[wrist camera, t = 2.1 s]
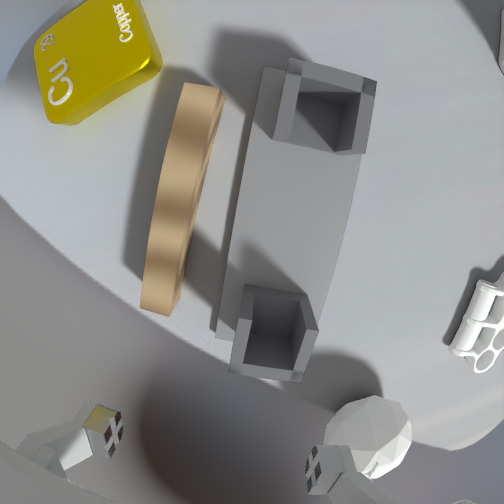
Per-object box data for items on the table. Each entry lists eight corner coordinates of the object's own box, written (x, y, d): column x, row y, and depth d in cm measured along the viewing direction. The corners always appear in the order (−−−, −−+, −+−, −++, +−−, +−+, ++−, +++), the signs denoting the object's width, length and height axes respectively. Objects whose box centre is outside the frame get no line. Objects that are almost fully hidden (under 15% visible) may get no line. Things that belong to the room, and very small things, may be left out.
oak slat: (195, 93, 29) (184, 82, 24) (225, 99, 29) (219, 88, 25) (154, 290, 36) (139, 308, 31) (180, 297, 36) (168, 316, 31)
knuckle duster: (481, 256, 33) (528, 272, 34) (435, 362, 38) (488, 362, 39) (494, 263, 30) (540, 279, 30) (444, 374, 35) (496, 372, 35)
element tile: (168, 71, 28) (154, 59, 24) (68, 131, 30) (46, 130, 26) (136, -9, 25) (123, -25, 20) (48, 49, 27) (28, 41, 22)
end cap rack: (263, 69, 28) (264, 37, 19) (369, 95, 28) (402, 75, 20) (216, 333, 37) (204, 378, 28) (307, 348, 37) (317, 394, 29)
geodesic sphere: (403, 453, 37) (430, 479, 25) (328, 476, 39) (332, 511, 26) (392, 381, 43) (419, 389, 30) (314, 404, 44) (315, 421, 31)
